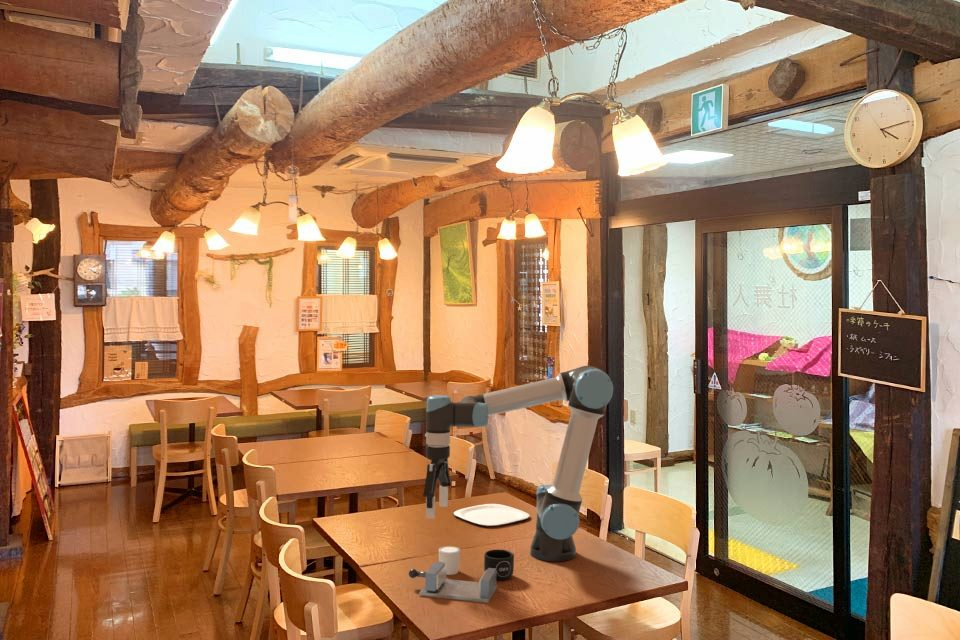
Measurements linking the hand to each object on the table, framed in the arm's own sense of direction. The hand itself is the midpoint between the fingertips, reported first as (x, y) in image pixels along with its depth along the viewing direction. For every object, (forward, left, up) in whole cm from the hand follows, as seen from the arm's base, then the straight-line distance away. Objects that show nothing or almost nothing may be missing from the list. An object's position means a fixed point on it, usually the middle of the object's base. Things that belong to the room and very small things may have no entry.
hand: (437, 512), depth 246 cm
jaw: (-2, +18, -16) cm, 24 cm away
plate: (-5, -59, -18) cm, 62 cm away
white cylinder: (-5, +3, -18) cm, 19 cm away
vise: (-12, +18, -17) cm, 28 cm away
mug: (-20, +2, -18) cm, 27 cm away
